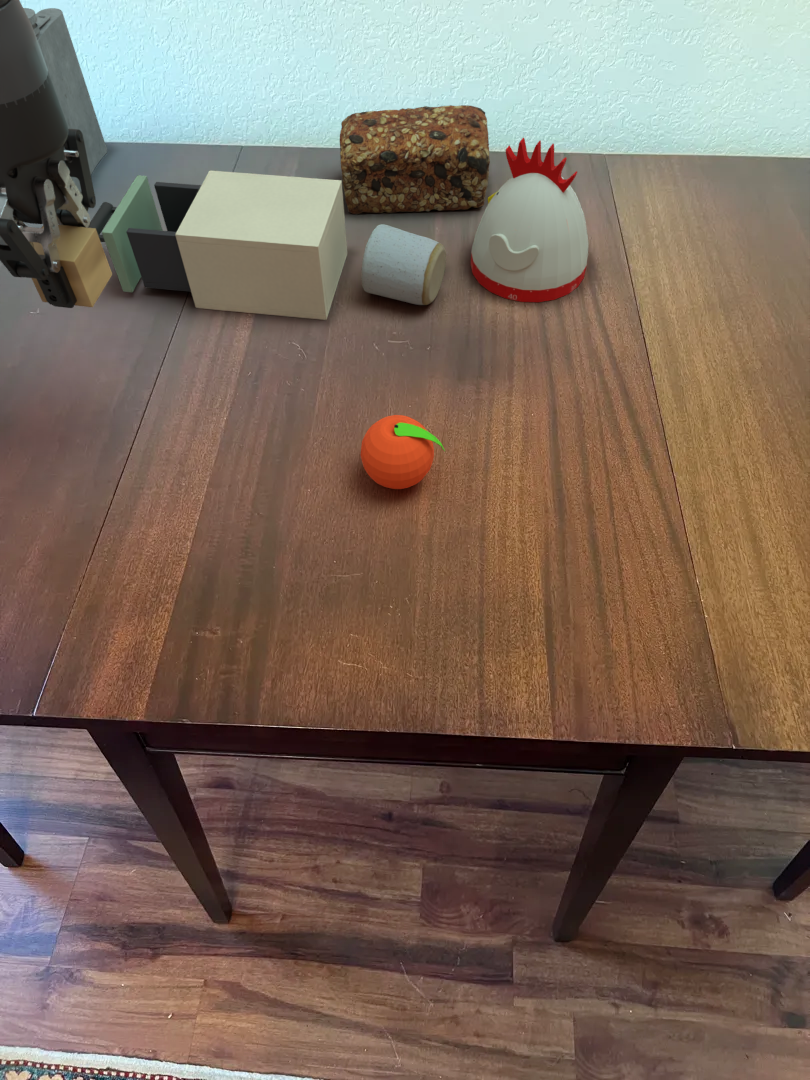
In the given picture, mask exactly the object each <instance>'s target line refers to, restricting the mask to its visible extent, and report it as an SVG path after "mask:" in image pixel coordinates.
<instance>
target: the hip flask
mask: <svg viewBox="0 0 810 1080" xmlns="http://www.w3.org/2000/svg"><path fill="white" fill-rule="evenodd" d="M23 9H24V10H25V12H26V14H27V16H28V19H29V21H30V23H31V25H32V27H33V30H34V32H35V35H36V38H37V41H38V43H39V46H40V49H41V52H42V55H43V58H44V60H45V63H46V66H47V69H48V72H49V74H50V77H51V80H52V83H53V86H54V89H55V91H56V94H57V97H58V100H59V103H60V106H61V108H62V111H63V114H64V117H65V120H66V122H67V126H68V129H78V130H80V131H81V132H82V134H83V138H84V143H85V148H86V153H87V158H88V163H89V168H90V173H91V175H92V174H93V173H94V170H95V169H96V167H97V166H98V165H99V163H100V162H101V161H102V159H103V158H104V157H105V156H106V155H107V153H108V148H107V144H106V141H105V139H104V136H103V132H102V129H101V126H100V123H99V120H98V117H97V114H96V111H95V107H94V105H93V102H92V99H91V95H90V92H89V90H88V87H87V83H86V80H85V77H84V74H83V71H82V68H81V64H80V62H79V59H78V56H77V53H76V50H75V46H74V44H73V40H72V37H71V35H70V31H69V28H68V25H67V22H66V19H65V15H64V13H63V10H61V9H60V8H56V7H48V8H43V9H41V10H39V11H37V12H36V11H35V10H34V9H32V8H29V7H23ZM71 178H72V180H73V181H74V183H75V185H76V186H77V188H78V189H79V191H81V187H80V182H79V180H78V178H76V177H71ZM81 192H82V191H81Z"/></svg>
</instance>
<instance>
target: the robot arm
mask: <svg viewBox="0 0 810 1080" xmlns="http://www.w3.org/2000/svg"><path fill="white" fill-rule="evenodd" d="M23 8H24V6H23V5H22V2H21V0H0V262H1V263H2V265H3V266H4V267H5V269H6V270H7V271H8V272H9V273H10V275H11V276H12V277H14V278H26V279H32V278H35V279H37V281H38V283H39V285H40V288H41V290H42V292H43V294H44V296H45V298H46V301H47V302H46V303H48V304H49V305H50V306H53V307H56V308H65V309H73V308H74V307H75V306H76V305H75V304H76V302H77V299H76V297H75V294H74V292H73V290H72V287H71V285H70V283H69V280H68V278H67V275H66V273H65V271H64V268H63V266H61V263H60V258H59V254H58V249H57V245H56V240H58V239H59V238H60V231H59V227H58V225H67V226H77V227H86V228H88V227H89V225H90V222H91V217H90V213H88V212H89V209H94V208H96V203H97V201H96V200H97V199H96V194H95V189H94V185H93V179H92V174H91V173H90V168H89V163H88V158H87V153H86V148H85V143H84V138H83V134H82V132H81V131H80V130H78V129H68V126H67V122H66V120H65V117H64V114H63V111H62V108H61V106H60V103H59V100H58V97H57V94H56V91H55V89H54V86H53V83H52V80H51V77H50V74H49V72H48V69H47V66H46V63H45V60H44V58H43V55H42V52H41V49H40V46H39V43H38V41H37V38H36V35H35V32H34V30H33V27H32V25H31V23H30V21H29V19H28V16H27V14H26V12H25V10H24V9H23ZM71 177H76V178H78V180H79V182H80V187H81V191H82V192H81V191H79V189H78V188H77V186H76V185H75V183H74V181H73V180H72V178H71ZM26 224H33V225H35V224H36V225H42V226H43V227H44V228H42V227H33V226H28V225H26ZM33 242H38V243H40V244H41V245H42V246H43V251H44V255H40V254H38V253H37V252H36V251H35V249H34V244H33Z"/></svg>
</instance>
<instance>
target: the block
mask: <svg viewBox="0 0 810 1080" xmlns="http://www.w3.org/2000/svg"><path fill="white" fill-rule="evenodd" d="M58 227H59V231H60V238H59V239H58V240H56V245H57V249H58V254H59V258H60V263H61V266H63V268H64V271H65V273H66V275H67V278H68V280H69V283H70V285H71V287H72V290H73V292H74V294H75V297H76V299H77V302H76V304H75V305H74V306H76V307H84V308H94V306H95V305H96V303H97V301H98V300H99V298H100V296H101V295H102V293H103V291H104V289H105V288H106V286H107V284H108V282H109V281H110V279H111V277H112V276H113V272H112V269H111V267H110V266H111V265H110V264H109V261H108V258H107V255H106V253H105V250H104V247H103V244H102V242H100V239H99V236H98V233H97V231H96V228H86V227H77V226H67V225H59V224H58ZM41 228H44V227H43V225H42V226H41ZM33 244H34V249H35V251H36V252H37V253H38V254H40V255H44V251H43V246H42V245H41V244H40V243H38V242H33ZM31 280H32V283H33V285H34V287H35V289H36V291H37V293H38V295H39V298H40V300H41V302H42V303H48V302H47V301H46V298H45V296H44V294H43V292H42V290H41V288H40V285H39V283H38V281H37V279H35V278H31Z"/></svg>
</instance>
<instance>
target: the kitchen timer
mask: <svg viewBox="0 0 810 1080" xmlns="http://www.w3.org/2000/svg"><path fill="white" fill-rule="evenodd" d="M517 146H518V147H517V153H516V154H515V152H514V150H513V149H512V147H511V145H508V146H507V147H506V149H505V157H506V160H507V163H508V167H509V169H510V173H511V176H512V177H510V178H509V179H508V180H506V181H505V183H503V184H502V186H500V188H499V189H498V190H497V191H496V192H494V193H492V194H491V195H490V196H488V197H487V205H486V207H485V210H484V212H483V214H482V216H481V218H480V221H479V224H478V226H477V229H476V232H475V234H474V239H473V243H472V246H471V251H470V269H471V273H472V275H473V277H474V278H475V279H476V281H477V283H478V284H479V285H480V286H482V287H483V288H484V289H486V290H487V291H488V292H490V293H492V294H494V295H496V296H499V297H501V298H504V299H507V300H510V301H515V302H520V303H542V302H548V301H549V302H550V301H555V300H557V299H559V298H563V297H565V296H568V295H570V294H571V293H572V292H573V291H575V290H576V289H577V288H578V287H579V286H580V284H581V283H582V281H583V280H584V278H585V275H586V271H587V266H588V258H589V257H588V256H589V236H588V228H587V222H586V221H587V220H586V216H585V213H584V210H583V208H582V204H581V201H580V199H579V197H578V196H577V194H576V192H575V189H574V188H573V187H572V186H571V184H572V182H573V181H574V179H575V178H576V176H577V174H578V171H577V170H576V171H575V172H574V173H573V174H572V175H571V176H569V177H568V178H566V179H565V178H564V177H563V176H562V172H563V170H564V167H565V165H566V163H567V159H568V158H567V156H565V157H563V158H562V160H560V161H559V163H558V164H557V165H555V143H552V144H551V145H550V146H549V147H548V150H547V151H546V153H545V157H544V159H543V161H542V140H539V141H538V142H537V143H536V144H535V146H534V148H533V151H532V154H531V157H529V156H528V151H527V145H526V140H525V137H522V138H521V140H520V141H519V142H518V145H517Z"/></svg>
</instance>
